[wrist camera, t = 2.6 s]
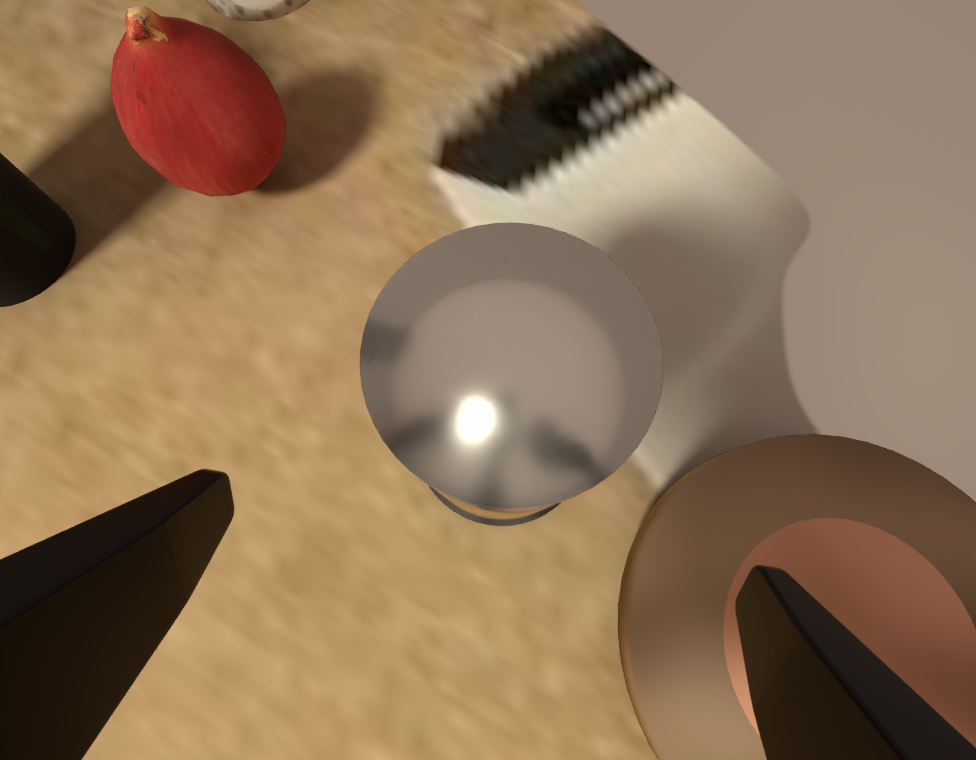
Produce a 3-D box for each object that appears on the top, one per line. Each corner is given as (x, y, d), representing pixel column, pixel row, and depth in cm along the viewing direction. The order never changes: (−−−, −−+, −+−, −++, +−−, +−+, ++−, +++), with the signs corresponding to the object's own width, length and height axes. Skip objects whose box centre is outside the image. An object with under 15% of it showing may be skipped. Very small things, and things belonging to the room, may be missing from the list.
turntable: (1041, 870, 15) (1160, 944, 12) (620, 855, 15) (648, 925, 13) (938, 452, 19) (1012, 439, 16) (602, 443, 19) (621, 429, 16)
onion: (161, 183, 23) (-3, 10, 15) (257, 111, 24) (149, -83, 17) (240, 257, 22) (105, 108, 14) (336, 177, 23) (260, 0, 15)
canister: (584, 528, 18) (687, 524, 9) (413, 523, 18) (330, 515, 9) (580, 366, 20) (660, 217, 11) (424, 362, 20) (366, 211, 11)
